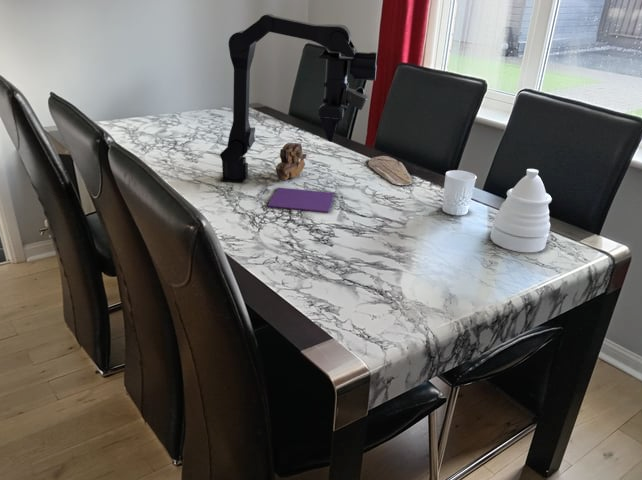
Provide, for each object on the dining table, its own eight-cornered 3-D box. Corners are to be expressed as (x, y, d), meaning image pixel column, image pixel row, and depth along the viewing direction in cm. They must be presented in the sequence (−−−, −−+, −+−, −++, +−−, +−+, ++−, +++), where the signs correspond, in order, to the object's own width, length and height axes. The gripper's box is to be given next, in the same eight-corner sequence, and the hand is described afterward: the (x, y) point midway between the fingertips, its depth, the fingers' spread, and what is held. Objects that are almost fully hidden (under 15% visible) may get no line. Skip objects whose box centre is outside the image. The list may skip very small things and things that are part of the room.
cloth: (267, 206, 150) (267, 205, 150) (278, 189, 162) (278, 187, 162) (328, 212, 149) (328, 211, 149) (334, 194, 161) (334, 192, 161)
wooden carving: (289, 186, 164) (290, 152, 159) (274, 184, 166) (274, 150, 161) (308, 170, 178) (309, 138, 173) (294, 168, 179) (295, 136, 174)
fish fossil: (424, 184, 172) (424, 180, 172) (393, 188, 170) (393, 185, 169) (389, 157, 193) (389, 153, 192) (360, 160, 190) (361, 157, 190)
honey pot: (538, 257, 131) (557, 181, 123) (483, 242, 137) (498, 169, 128) (550, 238, 141) (570, 167, 132) (499, 225, 147) (514, 156, 138)
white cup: (471, 208, 157) (477, 172, 152) (467, 218, 150) (474, 181, 145) (442, 203, 159) (447, 168, 154) (437, 213, 152) (443, 177, 147)
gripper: (364, 86, 142) (359, 149, 150) (369, 74, 158) (364, 131, 166) (319, 83, 143) (316, 145, 151) (329, 71, 159) (325, 128, 167)
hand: (332, 137), depth 158 cm, fingers open, 9 cm apart
